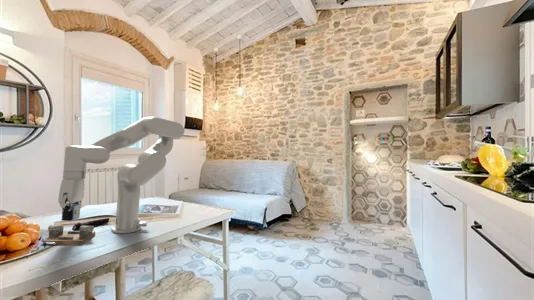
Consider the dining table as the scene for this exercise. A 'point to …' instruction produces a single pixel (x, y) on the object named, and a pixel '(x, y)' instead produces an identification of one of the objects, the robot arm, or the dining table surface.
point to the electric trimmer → (90, 223)
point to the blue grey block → (74, 211)
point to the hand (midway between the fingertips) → (70, 218)
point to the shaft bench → (69, 235)
